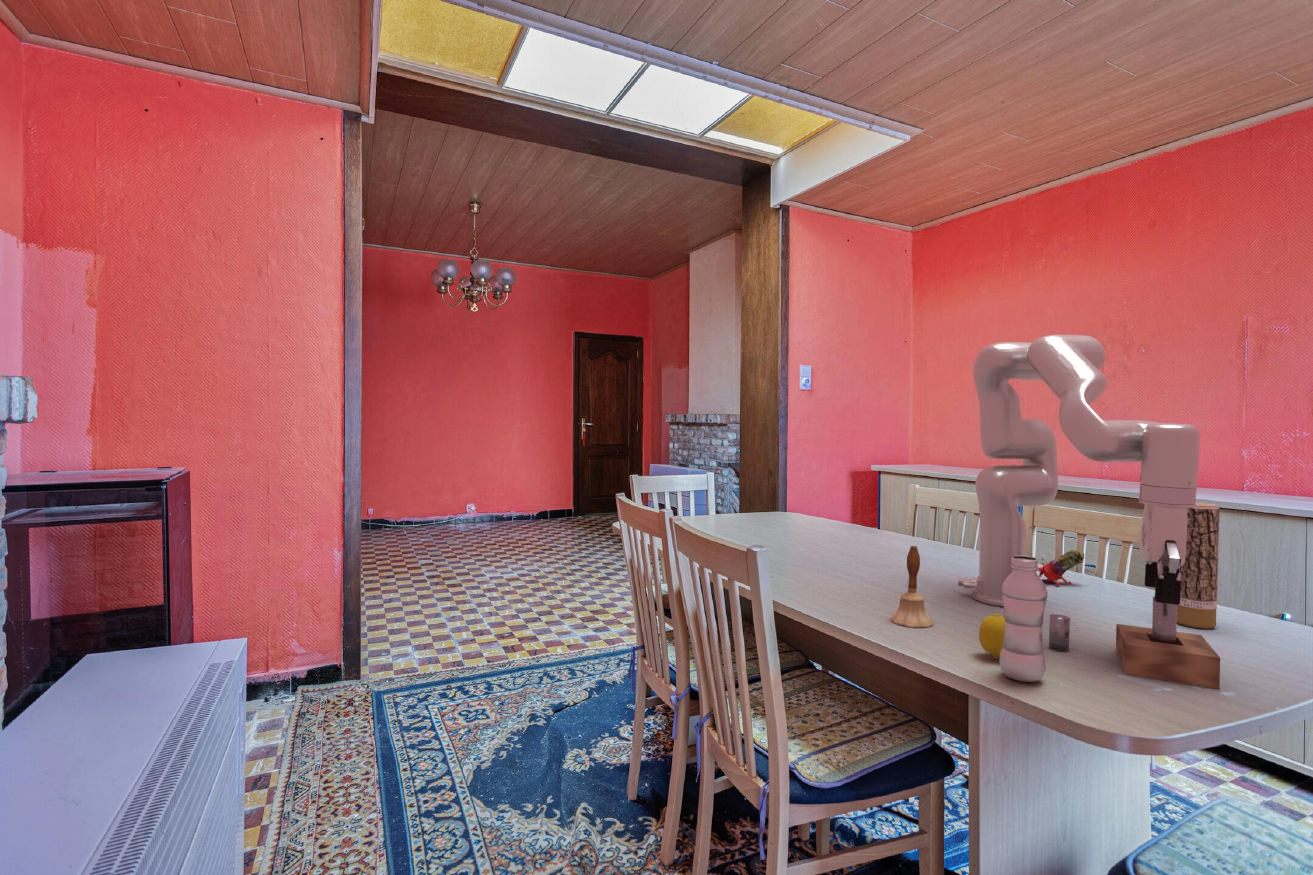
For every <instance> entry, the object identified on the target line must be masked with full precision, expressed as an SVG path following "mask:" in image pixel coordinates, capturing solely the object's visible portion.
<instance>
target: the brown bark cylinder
mask: <svg viewBox="0 0 1313 875" xmlns="http://www.w3.org/2000/svg"><path fill="white" fill-rule="evenodd" d="M1219 506H1220V505H1218V504H1213V503H1208V502H1207V503H1206V502H1196V507H1195V508H1187V520H1188V521H1187V541H1186V555H1185V562H1184V565H1183V566H1181V567H1180V573H1181V593H1180V604H1179V605H1177V624H1179V625H1182V626H1185V627H1187V628H1194V629H1201V630H1202V629H1205V630H1206V629H1207V630H1210V629H1213V628H1215V627H1216V625H1217V607H1218V606H1217V605H1218V604H1217V603H1218V575H1219V574H1218V570H1219V536H1220V534H1219V532H1220V507H1219Z"/></svg>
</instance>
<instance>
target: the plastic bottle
mask: <svg viewBox="0 0 1313 875" xmlns="http://www.w3.org/2000/svg"><path fill="white" fill-rule="evenodd" d="M1038 562H1039V560H1038V558H1036V557H1035V556H1034V557H1033V556H1030V555H1029V556H1028V555H1026V556H1012V564H1011V568H1012V569H1013V572H1012V573H1011V574H1010V575H1009V576H1008V577H1007V578H1006V580H1005V581H1004V582H1003V585H1002V597H1003V605H1004V606H1003V611H1004V612H1003V615H1004V617H1003V618H1004V619H1005V629H1004V637H1003V647H1002V649H1001V652H1000V657H999V658H998V660H999V666H1000V667H999V668H1000V670H1001V672H1002V674H1004V676H1006V677H1007V678H1010V679H1012V680H1015V681H1019V682H1025V683H1037V682H1039V681H1041V680H1042V679H1043V678H1044V676H1045V673H1046V668H1047V666H1046V658H1045V653H1044V643H1043V642H1044V641H1043V629H1044V627H1043V625H1044V615H1045V610H1046V605H1047V599H1048V589H1047V586H1046V585H1045V583H1044V582H1043V579H1041V577H1039V575H1038V574H1037V572H1039V571H1038V567H1039V566H1038V565H1039V563H1038Z"/></svg>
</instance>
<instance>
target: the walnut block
mask: <svg viewBox="0 0 1313 875" xmlns="http://www.w3.org/2000/svg"><path fill="white" fill-rule="evenodd" d="M1115 630H1116V632H1115V639H1116V640H1115V653H1116V655H1117V657H1118V659H1119V662H1120V664H1121V666H1122V668H1123V671H1124V674H1126V675H1132V676H1136V677H1137V676H1139V677H1142V678H1143V677H1144V678H1150V679H1155V680H1161V681H1167V682H1174V683H1180V684H1184V685H1185V684H1187V685H1193V686H1198V687H1205V688H1211V689H1217V690H1220V686H1221V685H1220V682H1221V680H1220V679H1221V675H1220V674H1221V657H1220V656H1219V655H1218V653H1217V652H1216V651H1215V649H1214V648H1213V647H1212V646H1211V645H1210V643H1209V642H1208V641H1207V640H1206V639H1205V637H1204V636H1203V635H1202V634H1199V633H1198V634H1196V633H1189V632H1182V631H1181V632H1180V631H1176V645H1174V644H1167V643H1160V642H1153V641H1152V627H1143V626H1135V625H1128V624H1121V623H1116V626H1115Z"/></svg>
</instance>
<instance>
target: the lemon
mask: <svg viewBox="0 0 1313 875" xmlns="http://www.w3.org/2000/svg"><path fill="white" fill-rule="evenodd" d="M1004 629H1005V619H1004V617H1003V616H1002V615H1000V614H999V613H994V614H992V615H988V616H986V617H985V618H984V619H982V621H981V623H980V625H979V629H978V630H979V631H978V641H979V643H980V645H981V647H982V648H983V650H984V651H985V652H987V653H988V654H990V655H991V656H992V657H993V658H994V659H999V658H1000V652H1001V649H1002V647H1003V637H1004Z"/></svg>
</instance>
